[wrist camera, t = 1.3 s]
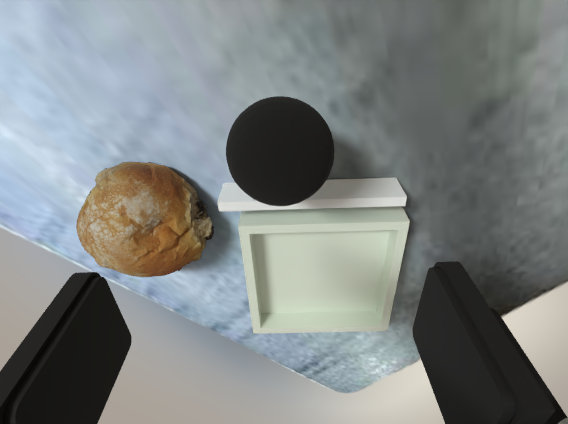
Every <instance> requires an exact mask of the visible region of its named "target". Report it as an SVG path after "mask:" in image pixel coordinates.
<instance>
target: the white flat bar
mask: <svg viewBox="0 0 568 424" xmlns="http://www.w3.org/2000/svg"><path fill="white" fill-rule="evenodd" d="M406 199H407V196H406V194H405V192H404V191H403V189H402V187H401V185H400V184H399V182H398V180H397V178H366V179H334V180H326V181H325V183H324V184H323V186H322V187H321V188H320V189H319V190H318V191H317V192H316V193H315V194H314V195H312V196H311V197H309V198H308V199H306V200H304V201H302V202H300V203H297V204H293V205H289V206H270V205H267V204H264V203H261V202H258V201H256V200H254V199H253V198H251V197H250V196H249V195H247V194H246V193H245V192H244V191H243V190H242V189H240V188H239V186H238V185H237V184H236V183H223V187H222V190H221V193H220V196H219V199H218V202H217V203H218V209H219V211H250V210H285V209H319V208H354V207H388V206H405V205H406Z"/></svg>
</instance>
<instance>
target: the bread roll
mask: <svg viewBox="0 0 568 424" xmlns="http://www.w3.org/2000/svg"><path fill="white" fill-rule="evenodd" d="M95 181H96V183H97V184H96V186H95V187H94V188H93V189H92V190H91V192H90V194H89V195H88V196H87V199H86V200H85V203H84V205H83V206H82V208H81V210H80V213H79V216H78V219H77V226H76V228H77V233H78V236H79V239H80V241H81V244H82V246H83V248H84V249H85V250H86V251H87V252H88V253H89V254H90V255H92V256H93V257H94V258H95V261H96V263H98V264H99V265H100V266H102V267H105V268H110V269H114V270H116V271H118V272H120V273H124V274H127V275H131V276H138V277H152V276H163V275H167V274H170V273H173V272H175V271H177V270H178V271H180V269H181V268H182V267H183V266H185V265H186V264H189V263H190V262H192V261H196V260H199V259H201V253H202V250H203V249H204V247H205V246H206V240H209V239H211V238H212V236H213V234H214V230H213V228H214V227H213V225H212V221H211V218H210V217H208V218H207V212H206V208H207V206H206V205H205V204H204V203H203V202H202V201H201V200H200V199H199V196H198V194H197V192H196V190H195V189H194V188H193V187H192V186H191V185H190V184H189V183H187V182H186V181H185V179H184V178H182V177H181V176H179V175H178V174H176V173H175V172H174V171H172V170H171V169H169V168H168V167H166V166H164V165H158V164H153V163H151V162H149V163H140V162H124V163H121V164H119V165H117V166H114V167H111V168H108V169H107V168H106V169H104V170H103V171H102V172H100V173H98V175H97V176H96V179H95Z"/></svg>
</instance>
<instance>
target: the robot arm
mask: <svg viewBox="0 0 568 424" xmlns="http://www.w3.org/2000/svg"><path fill="white" fill-rule="evenodd" d="M413 337H414V341H415V343H416V346H417V349H418V351H419V354H420V357H421V360H422V362H423V365H424V367H425V370H426V373H427V376H428V378H429V381H430V384H431V386H432V389H433V392H434V394H435V397H436V400H437V403H438V405H439V408H440V411H441V413H442V416H443V419H444V421H445V424H568V418H567V416H566V415H565V413H564V412H563V410H562V409H561V407H560V406H559V404H558V402H557V401H556V400H555V398H554V396H553V395H552V393H551V392H550V390H549V389H548V388H547V386H546V384H545V383H544V381H543V380H542V378H541V377H540V375H539V374H538V372H537V371H536V370H535V368H534V366H533V365H532V363H531V362H530V360H529V359H528V357H527V356H526V354H525V353H524V351H523V350H522V349H521V347H520V345H519V344H518V342H517V341H516V339H515V338H514V336H513V335H512V333H511V332H510V330H509V329H508V327H507V325H506V324H505V322H504V321H503V319H502V318H501V316H500V315H499V314H498V313H497V312H496V311H495V310H493V309H492V308H489V306H488V305H487V303H486V302H485V300H484V298H483V297H482V295H481V294H480V292H479V291H478V289H477V288H476V286H475V285H474V283H473V281H472V280H471V278H470V277H469V275H468V274H467V272H466V271H465V269H464V267H463V266H462V265H461V263H459V262H437V263H436V264H435V265H434V267H432V268H429V270H428V273H427V277H426V280H425V284H424V288H423V292H422V295H421V299H420V303H419V307H418V310H417V314H416V318H415V322H414V325H413ZM130 346H131V334H130V332H129V329H128V327H127V325H126V323H125V321H124V319H123V316H122V314H121V312H120V310H119V308H118V305H117V303H116V301H115V299H114V297H113V294H112V292H111V290H110V288H109V286H108V283H107V281H106V279H105V278H104V277H101V276H100V275H99V274H98V273H97V272H88V273H75V274H73V275H72V276H71V277H70V278H69V280H68V281H67V282H66V284H65V285H64V286H63V288H62V289H61V290H60V292H59V293H58V294H57V296H56V297H55V298H54V300H53V301H52V303H51V304H50V305H49V306H48V308H47V309H46V310H45V312H44V313H43V314H42V316H41V317H40V318H39V320H38V321H37V323H36V324H35V325H34V327H33V328H32V329H31V331H30V332H29V333H28V335H27V336H26V337H25V339H24V340H23V342H22V343H21V344H20V346H19V347H18V348H17V350H16V351H15V352H14V354H13V355H12V356H11V358H10V359H9V360H8V362H7V363H6V364H5V366H4V367H3V369H2V370H1V371H0V424H97V423H98V420H99V419H100V416H101V414H102V411H103V409H104V407H105V404H106V402H107V400H108V397H109V395H110V393H111V390H112V388H113V386H114V383H115V381H116V379H117V376H118V374H119V372H120V370H121V367H122V365H123V362H124V360H125V358H126V355H127V353H128V351H129V349H130Z"/></svg>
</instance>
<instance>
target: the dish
mask: <svg viewBox="0 0 568 424" xmlns="http://www.w3.org/2000/svg"><path fill="white" fill-rule="evenodd" d="M409 224H410V221H409V219H408V217H407V215H406V213H405V211H404V209H403V207H402V206H388V207H354V208H319V209H285V210H250V211H241V215H240V220H239V225H238V228H239V235H240V242H241V249H242V256H243V263H244V270H245V278H246V285H247V292H248V299H249V306H250V313H251V320H252V327H253V333H303V332H355V331H387V330H388V325H389V320H390V315H391V311H392V306H393V301H394V296H395V291H396V286H397V282H398V277H399V272H400V267H401V262H402V257H403V253H404V248H405V243H406V238H407V233H408V228H409Z"/></svg>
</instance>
